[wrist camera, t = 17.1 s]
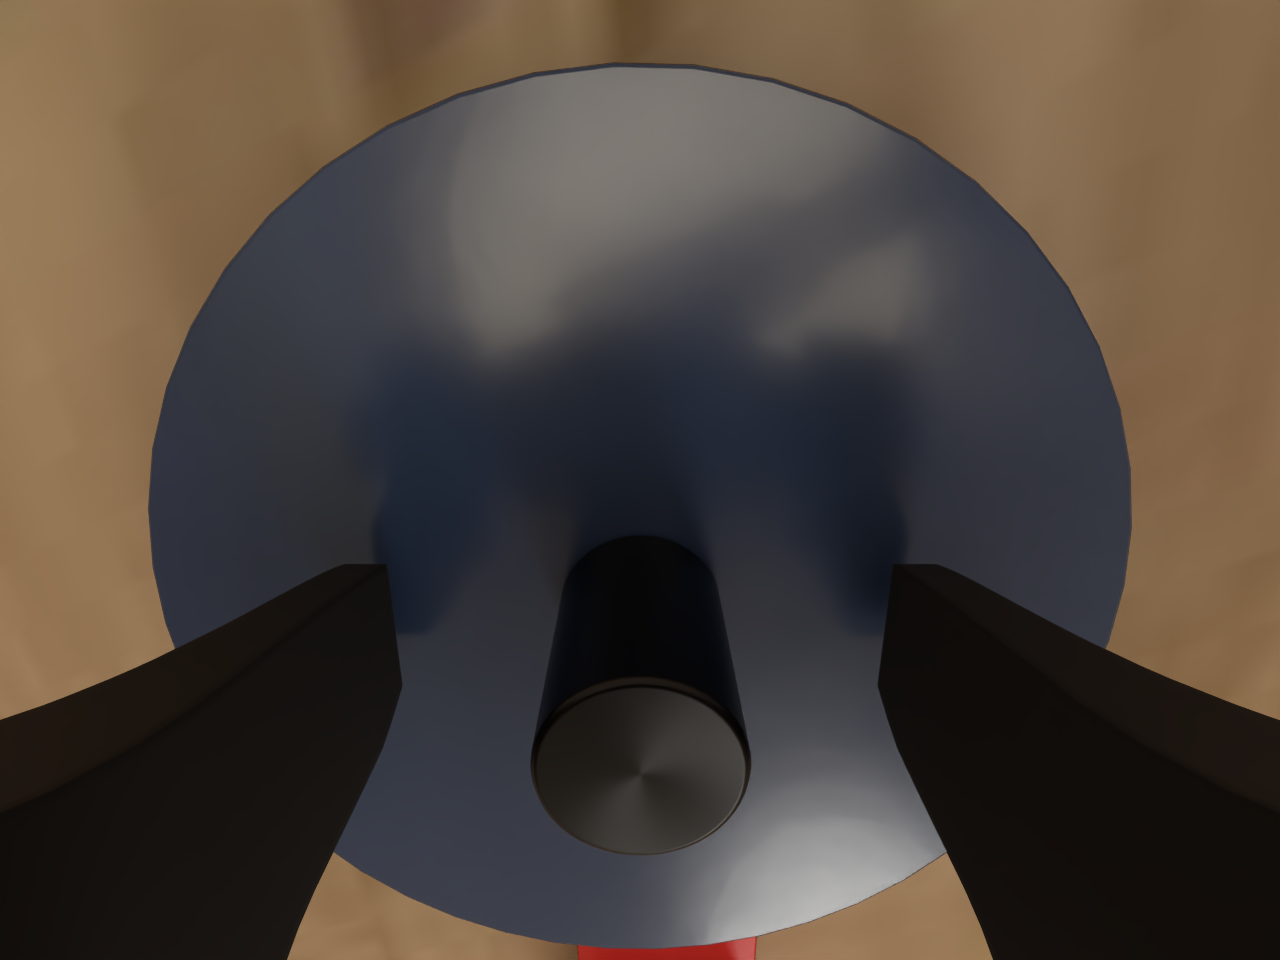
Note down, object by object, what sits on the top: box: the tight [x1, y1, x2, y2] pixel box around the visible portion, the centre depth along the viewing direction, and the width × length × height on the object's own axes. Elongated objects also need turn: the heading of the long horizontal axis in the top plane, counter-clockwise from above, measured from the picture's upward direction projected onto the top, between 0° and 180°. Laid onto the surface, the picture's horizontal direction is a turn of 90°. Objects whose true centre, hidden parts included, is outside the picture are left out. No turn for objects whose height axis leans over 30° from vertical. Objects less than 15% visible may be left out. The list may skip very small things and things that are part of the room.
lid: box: [148, 63, 1132, 949], centre depth 10 cm, size 15×15×5 cm
